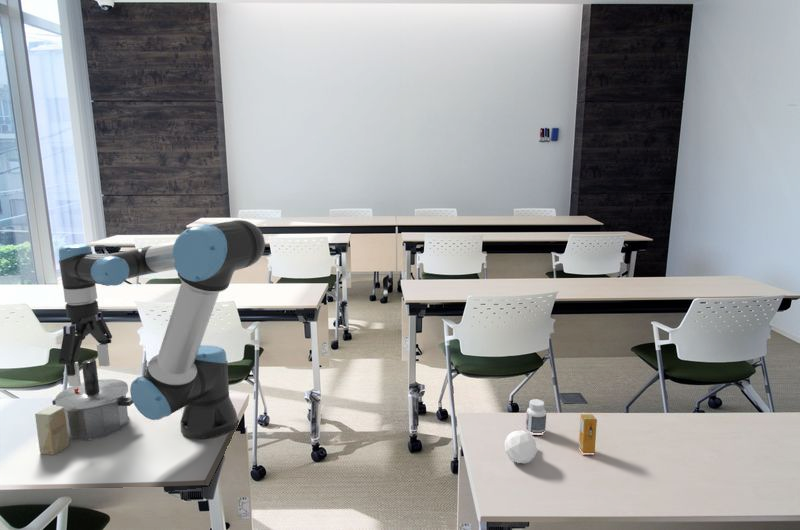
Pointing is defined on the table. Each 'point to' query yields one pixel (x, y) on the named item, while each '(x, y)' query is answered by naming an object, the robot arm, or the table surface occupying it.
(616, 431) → the table surface
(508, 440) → the white faceted ovoid
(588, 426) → the supplement box
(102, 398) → the lid
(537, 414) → the pill bottle
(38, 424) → the box
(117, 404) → the pot
